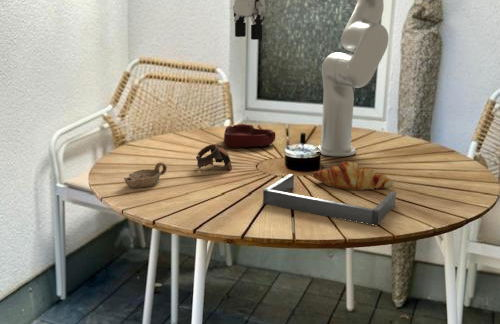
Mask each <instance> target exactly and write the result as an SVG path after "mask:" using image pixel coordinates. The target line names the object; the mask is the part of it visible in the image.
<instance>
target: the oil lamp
mask: <svg viewBox="0 0 500 324" xmlns="http://www.w3.org/2000/svg"><path fill="white" fill-rule="evenodd" d="M161 166H162V170H161V171H160V167H161ZM167 169H168V167H167V165H166V163H164V162H162V161H161V162H158V163H156V164H155V166H154V169H139V170H136V171H134V172H132V173H129V174H128V177H124V178H123V180H124V181H125V184H126V185H127V186H128V187H129V188H134V189H137V188H138V189H139V188H147V187H152V186H154V185H156V184H157V183H158V182H159V180H160V177H161V176H163V175H165V174H166V172H167Z"/></svg>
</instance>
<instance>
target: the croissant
mask: <svg viewBox="0 0 500 324" xmlns="http://www.w3.org/2000/svg"><path fill="white" fill-rule="evenodd" d="M312 177H313V178H314V179H315V180H317V181H318V182H321V183H322V184H324V185H326V186H328V187H330V186H332V187H333V188H336V187H337V189H340V188H341V190H350V189H351V190H352V191H364V189H365V190H370V189H371V190H378V189H388V188H390V187H392V186H393V183H394V182H393V180H392V179H389V178H388V177H387V176H386V175H385V174H383V173H381V174H380V173H378V172H376V171H375V170H374V169H373V168H372V167H364V166H362V167H361V166H360V165H359V164H357V163H356V162H352V161H342V162H340V163H339V165H331V167H329V168H328V169H320V170H318V171H313V172H312ZM375 188H376V189H375ZM351 190H350V191H351Z"/></svg>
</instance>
